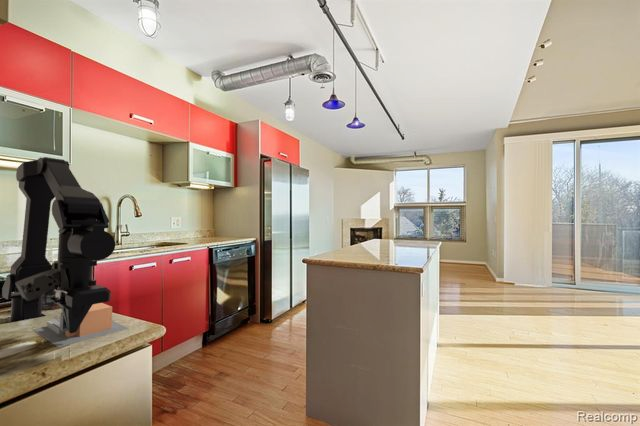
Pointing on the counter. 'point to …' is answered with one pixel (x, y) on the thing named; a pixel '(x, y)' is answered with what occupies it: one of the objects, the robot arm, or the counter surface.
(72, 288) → the robot arm
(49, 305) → the supplement bottle
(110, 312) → the cover
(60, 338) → the latch plate
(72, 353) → the counter surface
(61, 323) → the latch bolt
